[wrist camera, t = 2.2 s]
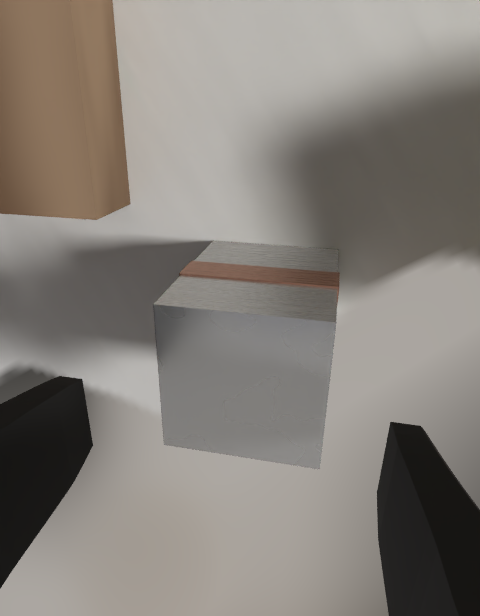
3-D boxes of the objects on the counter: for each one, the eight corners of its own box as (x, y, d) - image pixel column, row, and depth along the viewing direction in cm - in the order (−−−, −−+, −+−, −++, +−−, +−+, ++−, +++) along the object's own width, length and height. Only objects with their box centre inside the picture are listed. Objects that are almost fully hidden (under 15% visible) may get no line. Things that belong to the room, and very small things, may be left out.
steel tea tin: (213, 348, 19) (162, 445, 13) (212, 239, 17) (151, 302, 11) (327, 361, 18) (320, 470, 13) (339, 247, 16) (338, 320, 11)
